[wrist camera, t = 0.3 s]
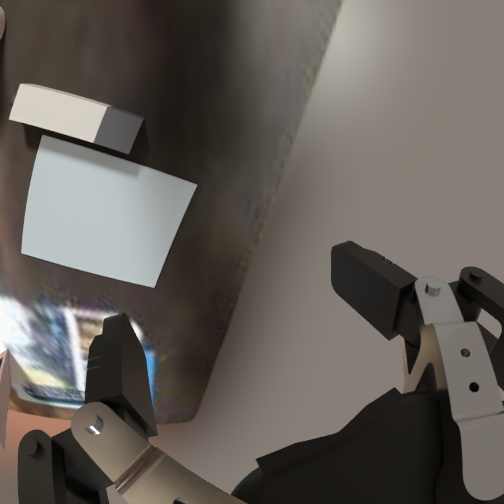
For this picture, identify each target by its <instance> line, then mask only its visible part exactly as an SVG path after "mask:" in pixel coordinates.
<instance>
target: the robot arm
mask: <svg viewBox="0 0 504 504" xmlns="http://www.w3.org/2000/svg"><path fill="white" fill-rule="evenodd" d="M331 283H332V286H333V289H334V290H335V292H336V293H337V294H338V295H339V296H340V297H341V298H342V299H343V300H345V301H346V302H347V303H348V304H349V305H350V306H351V307H352V308H353V309H355V310H356V311H357V312H358V313H359V314H360V315H361V316H362V317H363V318H365V319H366V320H367V321H368V322H369V323H370V324H371V325H372V326H373V327H375V328H376V329H377V330H378V331H379V332H380V333H381V334H382V335H383V336H384V337H385V338H386V339H388V340H389V341H390V340H391V339H393V338H394V337H396V336H397V335H399V334H400V335H401V336H402V339H401V350H402V359H403V370H404V389H403V394H401V393H400V392H399V391H398V390H397V389H396V388H395V387H394V388H393V389H391V390H390V391H388V392H387V393H385V394H384V395H382V396H381V397H379V398H378V399H376V400H375V401H373V402H371V403H370V404H368V405H366V407H365V408H363V409H362V410H361V411H360V412H359V413H358V414H357V415H356V416H355V417H354V418H353V419H352V420H351V421H350V422H349V423H348V424H347V425H346V426H345V427H344V428H343V429H342V430H340V431H339V432H337V433H335V434H331V435H328V436H324V437H320V438H316V439H312V440H307V441H303V442H298V443H294V444H292V445H289V446H287V447H285V448H283V449H280V450H278V451H275V452H273V453H270V454H268V455H265V456H262V457H260V458H257V459H256V461H257V463H258V465H259V467H258V468H257V469H255V470H254V471H252V472H251V473H250V474H249V475H247V476H246V477H245V478H244V479H243V480H242V481H241V482H240V483H239V484H238V485H237V486H236V487H235V489H234V490H233V491H232V493H231V495H230V494H228V493H226V492H224V491H223V490H221V489H219V488H217V487H216V486H214V485H212V484H211V483H209V482H207V481H206V480H204V479H202V478H201V477H199V476H198V475H196V474H194V473H193V472H191V471H190V470H188V469H187V468H185V467H184V466H182V465H181V464H180V463H178V462H177V461H175V460H174V459H172V458H171V457H170V456H168V455H167V454H166V453H164V452H163V451H161V450H160V449H158V448H157V447H156V448H155V447H154V446H153V445H151V444H150V443H149V441H148V437H152V436H157V435H158V433H157V428H156V423H155V417H154V411H153V405H152V399H151V393H150V386H149V378H148V370H147V362H146V357H145V353H144V350H143V348H142V345H141V343H140V341H139V340H138V338H137V336H136V334H135V332H134V330H133V328H132V326H131V324H130V322H129V320H128V318H127V316H126V315H125V314H124V313H121V314H118V315H114V316H111V317H108V318H105V319H104V322H103V331H102V334H101V335H97V336H95V338H94V340H93V342H92V343H91V345H90V347H89V355H88V359H89V361H88V364H87V369H88V370H87V375H86V388H85V405H84V406H82V407H81V408H79V409H78V410H77V412H76V413H75V414H74V416H73V418H72V422H71V428H69V429H67V430H65V431H64V432H61V433H59V434H57V435H55V436H53V437H50V436H49V435H47V434H46V433H45V432H43V431H41V430H32V431H30V432H28V433H27V434H26V435H24V437H23V438H22V440H21V442H20V444H19V449H18V496H19V504H109V501H108V496H107V491H106V488H107V487H109V486H111V485H113V484H116V490H117V492H118V493H119V494H120V495H121V496H122V497H123V498H124V499H125V500H126V501H127V502H128V503H129V504H504V401H502V400H501V396H500V392H499V388H498V386H499V387H500V388H502V390H503V391H504V284H503V283H502V282H500V281H499V280H497V279H496V278H494V277H493V276H491V275H490V274H488V273H487V272H485V271H484V270H482V269H479V268H477V267H465V268H463V269H462V270H461V273H460V277H459V280H458V281H455V282H451V283H447V282H445V281H444V280H442V279H440V278H437V277H433V276H425V277H421V278H419V279H417V278H416V277H415V276H413V275H412V274H410V273H409V272H407V271H405V270H404V269H402V268H400V267H399V266H397V265H396V264H393V263H392V262H391V261H390V260H388V259H385V257H383V256H381V255H380V254H378V253H377V252H374V251H371V250H368V249H364V248H362V247H361V246H359V245H358V244H356V243H354V242H353V241H347V242H344V243H341V244H338V245H335V246H333V247H332V250H331ZM482 308H483V309H484V310H485V311H487V312H488V313H489V314H490V315H492V316H493V317H494V318H495V319H497V320H498V321H499V322H500V324H501V326H502V333H501V335H500V337H499V339H497V338H496V337H495V336H494V335H493V334H491V333H490V332H489V331H488V330H487V329H485V328H484V327H483V326H482V325H481V324H479V323H478V322H477V319H478V317H479V314H480V312H481V309H482Z"/></svg>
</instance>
